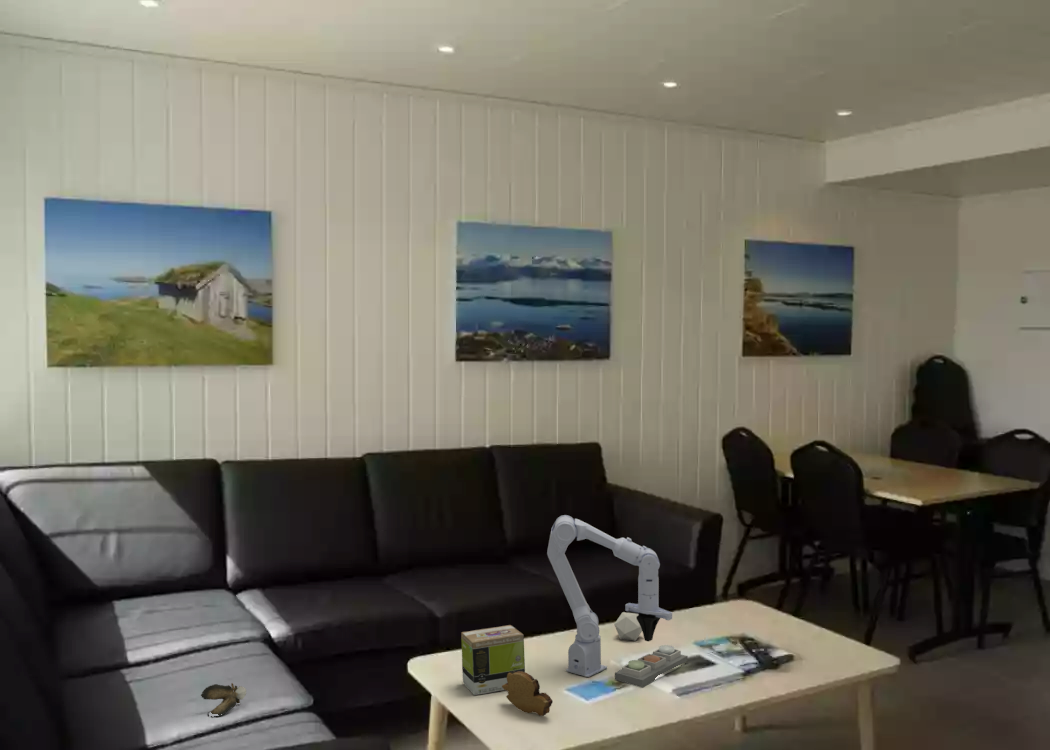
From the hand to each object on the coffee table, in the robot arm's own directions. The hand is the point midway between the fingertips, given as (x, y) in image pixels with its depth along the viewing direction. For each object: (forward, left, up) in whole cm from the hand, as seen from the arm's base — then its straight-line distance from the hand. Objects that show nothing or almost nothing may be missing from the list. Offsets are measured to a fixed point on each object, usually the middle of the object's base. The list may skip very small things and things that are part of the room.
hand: (648, 640), depth 263 cm
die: (+20, +20, -9) cm, 29 cm away
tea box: (-36, +27, -9) cm, 46 cm away
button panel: (0, -1, -9) cm, 9 cm away
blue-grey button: (+8, -1, -5) cm, 9 cm away
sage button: (-8, -1, -6) cm, 10 cm away
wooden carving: (-44, +8, -9) cm, 45 cm away
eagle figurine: (-92, +70, -9) cm, 116 cm away
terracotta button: (0, -1, -6) cm, 6 cm away
